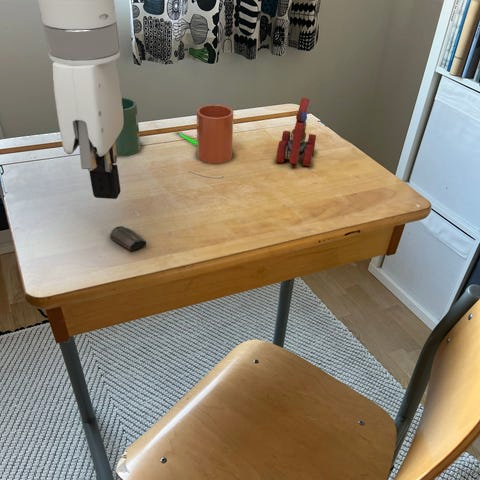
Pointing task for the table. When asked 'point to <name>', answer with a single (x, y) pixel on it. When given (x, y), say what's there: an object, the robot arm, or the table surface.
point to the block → (127, 238)
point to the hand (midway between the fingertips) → (107, 195)
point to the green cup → (128, 130)
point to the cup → (214, 133)
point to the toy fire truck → (297, 139)
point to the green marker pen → (189, 140)
